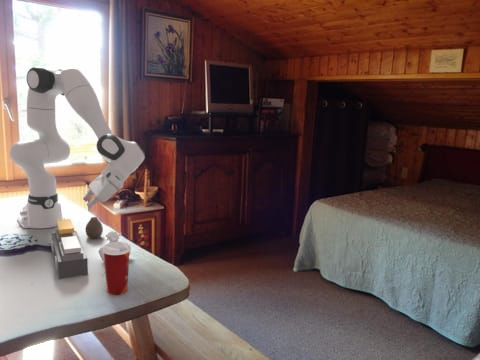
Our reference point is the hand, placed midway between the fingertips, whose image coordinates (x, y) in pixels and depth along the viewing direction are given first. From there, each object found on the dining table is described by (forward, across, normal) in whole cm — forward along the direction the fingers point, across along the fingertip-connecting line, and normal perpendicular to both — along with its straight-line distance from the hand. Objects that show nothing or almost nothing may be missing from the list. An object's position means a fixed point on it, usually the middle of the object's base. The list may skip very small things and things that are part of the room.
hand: (86, 203), depth 154 cm
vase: (+10, -13, +17) cm, 23 cm away
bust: (+8, +13, +19) cm, 24 cm away
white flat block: (+13, +17, +2) cm, 22 cm away
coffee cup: (+11, +39, +16) cm, 43 cm away
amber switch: (+12, 0, +1) cm, 12 cm away
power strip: (+19, +9, +8) cm, 22 cm away
